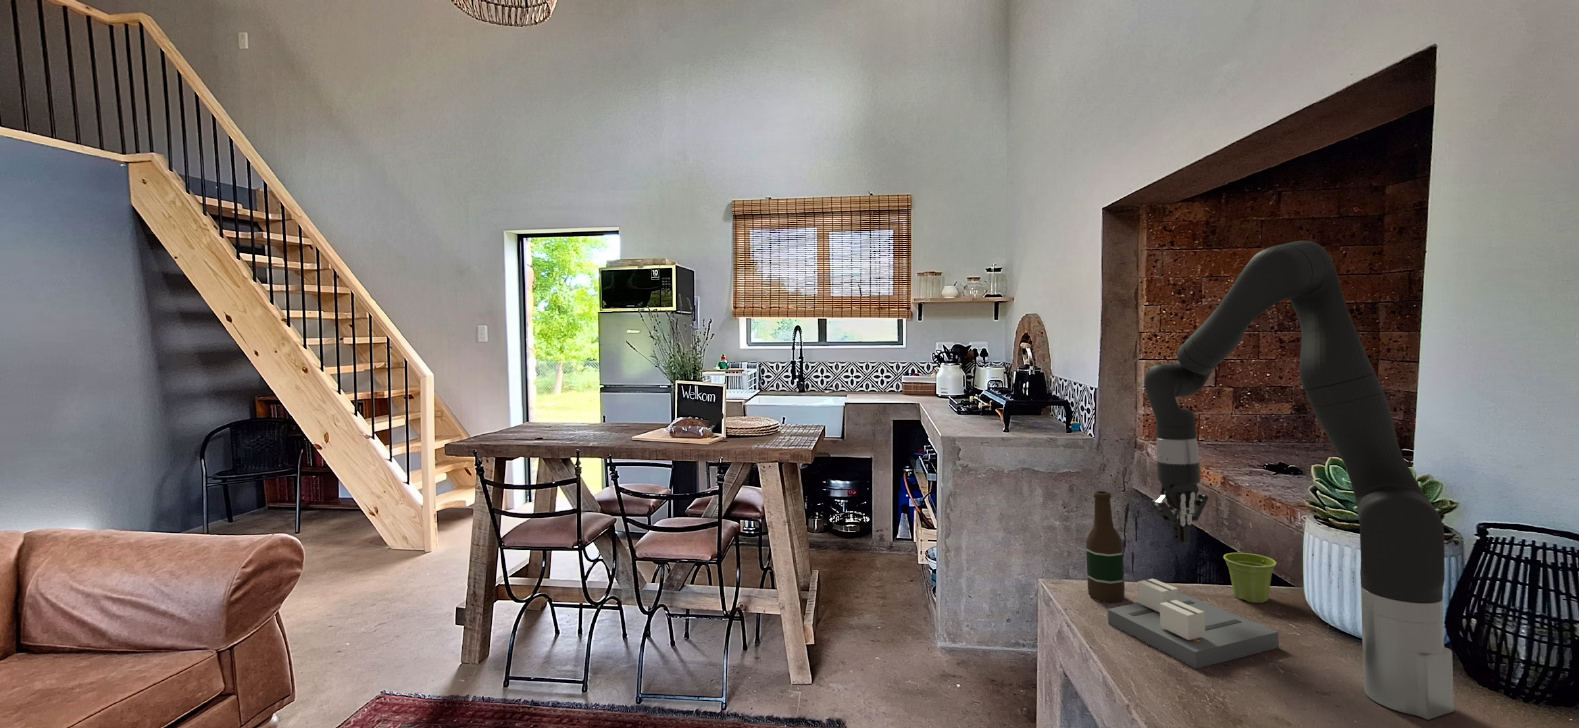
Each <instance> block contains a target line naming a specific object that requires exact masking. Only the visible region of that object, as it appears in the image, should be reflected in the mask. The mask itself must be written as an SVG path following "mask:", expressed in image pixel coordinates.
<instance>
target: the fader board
mask: <svg viewBox="0 0 1579 728" xmlns="http://www.w3.org/2000/svg"><path fill="white" fill-rule="evenodd" d="M1178 601H1180V602H1182V603H1184V604H1187V605H1189V606H1192V607H1194V608H1196V609H1199V610H1201V611H1204V613H1205V636H1204V637H1199V638H1195V639H1191V640H1187V639H1185V638H1183V637H1181V636H1179V635H1177V634H1175V633H1173V632H1171V631H1168V630H1166V629H1164V628H1162V627H1160V612H1158V611H1155V610H1153V609H1151V608H1149V607H1147V606H1144V605H1142V604H1140V603H1139V602H1136V603H1132V604H1125V605H1121V606H1116V607H1112V608H1108V609H1107V623H1108V625H1110V624H1111V626H1112V627H1115V628H1116V627H1117V628H1116V629H1118V630H1120V629H1121V630H1120V631H1122V632H1124V633H1126V634H1128V633H1129V634H1128V635H1130V636H1132V635H1133V636H1135V637H1137V638H1139V639H1141V640H1143V641H1145V642H1147V643H1149V644H1151V645H1153V646H1154V647H1153V646H1152V647H1153V648H1155V647H1156V648H1155V649H1157V648H1158V649H1157V650H1159V649H1160V650H1159V651H1161V652H1162V651H1163V652H1162V653H1164V652H1166V653H1167V654H1166V653H1165V654H1166V655H1168V654H1169V655H1168V656H1170V655H1171V657H1172V656H1173V657H1172V658H1174V657H1175V658H1174V659H1176V658H1178V659H1179V660H1178V659H1177V660H1178V661H1180V660H1181V661H1180V662H1182V663H1184V662H1185V663H1184V664H1185V665H1188V666H1189V665H1190V667H1192V668H1194V669H1195V670H1197V669H1201V668H1204V667H1209V666H1213V665H1216V664H1221V663H1224V662H1228V661H1232V660H1236V659H1239V658H1244V657H1248V656H1251V655H1257V654H1260V653H1265V652H1267V651H1268V652H1269V651H1272V650H1275V649H1276V650H1277V649H1279V647H1280V646H1279V645H1280V644H1279V631H1278V630H1275V629H1272V628H1270V627H1267V626H1264V625H1262V624H1260V623H1258V622H1255V621H1252V620H1249V619H1247V618H1244V617H1242V616H1239V615H1236V614H1235V613H1232V612H1229V611H1227V610H1224V609H1222V608H1219V607H1217V606H1215V605H1212V604H1209V603H1207V602H1204V601H1203V600H1200V599H1197V598H1195V597H1192V596H1189V595H1187V594H1184V593H1178ZM1133 636H1132V637H1133ZM1135 637H1134V638H1135ZM1137 638H1136V639H1137ZM1139 639H1138V640H1139ZM1141 640H1140V641H1141ZM1143 641H1142V642H1143ZM1145 642H1144V643H1145ZM1147 643H1146V644H1147ZM1149 644H1148V645H1149ZM1151 645H1150V646H1151Z"/></svg>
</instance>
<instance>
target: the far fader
mask: <svg viewBox="0 0 1579 728" xmlns="http://www.w3.org/2000/svg"><path fill="white" fill-rule="evenodd" d="M1137 593H1138V595H1137V596H1138V599H1137V600H1138V603H1140V604H1142V605H1144V606H1147V607H1149V608H1151V609H1153V610H1155V611H1158V612H1160V603H1164V602H1166V601H1173V600H1177V601H1178V594H1179V588H1178V587H1175V586H1173V585H1170V584H1167V583H1165V582H1162V581H1160V580H1158V579H1155V578H1149V579H1147V578H1145V579H1143V580H1139V581H1137Z"/></svg>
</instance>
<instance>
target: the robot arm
mask: <svg viewBox="0 0 1579 728" xmlns="http://www.w3.org/2000/svg"><path fill="white" fill-rule="evenodd" d="M1287 300H1289V302H1290V303H1291V305H1292V308H1293V310H1294V313H1295V315H1296V316H1297V319H1298V323H1299V326H1300V332H1301V342H1300V343H1301V346H1300V355H1299V357H1300V358H1299V378H1300V381H1301V385H1302V388H1303V389H1304V393H1305V395H1306V397H1307V400H1308V403H1309V404H1310V406H1311V409H1312V411H1313V413H1314V415H1315V418H1316V419H1317V421H1318V423H1319V424H1320V426H1321V428H1322V429H1323V432H1324V433H1325V436H1327V438H1328V440H1329V441H1330V443H1331V444H1332V445H1333V447H1334V449H1335V451H1337V453H1338V455H1339V456H1340V458H1341V461H1342V463H1343V464H1344V467H1345V470H1346V472H1347V475H1348V479H1349V481H1350V484H1351V488H1352V492H1353V496H1354V499H1355V503H1356V508H1357V509H1356V510H1357V515H1358V516H1357V517H1358V521H1359V539H1360V540H1359V543H1360V544H1359V546H1360V548H1359V549H1360V569H1359V570H1360V571H1359V572H1360V573H1359V575H1360V598H1361V600H1360V601H1361V602H1360V604H1361V606H1360V608H1361V637H1362V667H1363V679H1362V680H1363V690H1364V693H1365V695H1366V696H1367V697H1368V699H1369V698H1370V699H1371V700H1372V701H1374V702H1375V703H1377V704H1379V705H1381V706H1384V707H1386V708H1389V709H1391V710H1394V711H1396V712H1400V713H1404V714H1408V715H1412V716H1413V715H1414V716H1416V717H1417V716H1418V717H1420V718H1423V720H1431V719H1434V718H1437V717H1438V718H1439V717H1440V716H1444V715H1447V714H1450V713H1453V712H1454V711H1455V707H1454V706H1455V705H1454V703H1455V702H1454V675H1453V674H1454V673H1453V672H1454V671H1453V670H1454V669H1453V668H1454V667H1453V651H1452V649H1450V648H1448V647H1446V646H1445V641H1444V640H1445V637H1444V636H1445V635H1444V634H1445V632H1444V592H1443V591H1444V585H1445V579H1446V577H1445V576H1446V575H1445V574H1446V573H1445V571H1446V569H1445V566H1446V565H1445V562H1446V561H1445V560H1446V559H1445V556H1446V555H1445V530H1444V523H1443V520H1442V518H1441V516H1440V514H1439V513H1438V511H1437V510H1436V509H1437V508H1435V506H1434V505H1433V504H1432V502H1431V501H1430V500H1429V499H1428V497H1427V496H1426V494H1425V492H1423V490H1422V488H1421V487H1420V484H1419V483H1418V481H1417V480H1416V479H1415V477H1414V475H1413V473H1412V471H1411V469H1410V468H1409V466H1408V464H1407V462H1406V460H1405V458H1404V455H1403V454H1402V453H1403V452H1402V451H1401V448H1400V445H1399V441H1398V437H1397V433H1396V427H1395V424H1394V419H1393V415H1392V412H1391V408H1390V406H1389V405H1390V404H1389V402H1388V399H1387V397H1386V395H1385V391H1384V389H1383V386H1382V384H1381V383H1380V381H1379V379H1378V375H1377V373H1376V371H1375V369H1374V368H1373V365H1372V364H1371V362H1370V359H1369V357H1368V355H1367V353H1366V351H1365V348H1364V346H1363V345H1364V344H1363V343H1362V341H1361V338H1360V336H1359V334H1358V332H1357V329H1356V327H1355V324H1354V322H1353V320H1352V317H1351V315H1350V313H1349V309H1348V307H1347V304H1346V300H1345V297H1344V294H1343V290H1342V286H1341V284H1340V278H1339V276H1338V272H1337V269H1336V266H1335V263H1334V261H1333V259H1332V257H1331V255H1330V253H1328V251H1327V250H1326V249H1325V247H1323V246H1321V245H1320V244H1318V243H1317V242H1314V241H1311V240H1297V241H1292V242H1287V243H1283V244H1278V245H1273V246H1270V247H1268V248H1265V249H1262V250H1261V251H1259V252H1257V253H1255V255H1254V256H1253V257H1252V258H1250V260H1249V261H1248V262H1247V264H1246V266H1245V267H1244V268H1243V270H1242V271H1241V273H1240V274H1239V276H1238V277H1237V278H1236V280H1235V282H1234V283H1233V284H1232V286H1231V288H1230V289H1229V290H1228V292H1227V293H1226V294H1225V296H1224V298H1223V299H1222V300H1221V302H1220V303H1219V304H1218V306H1217V307H1216V308H1215V309H1214V311H1213V312H1212V313H1211V315H1209V317H1208V318H1207V319H1206V320H1205V321H1204V322H1203V323H1202V324H1201V325H1200V326H1198V328H1196V330H1195V331H1194V332H1193V333H1192V334H1191V336H1189V337H1188V338H1187V339H1186V340H1185V342H1184V343H1182V345H1181V346H1180V347H1179V348H1178V351H1177V354H1176V357H1177V361H1178V362H1174V363H1160V364H1159V363H1158V364H1155V365H1153V366H1151V367H1150V368H1148V370H1147V372H1146V373H1145V376H1144V389H1145V393H1146V396H1147V399H1148V401H1149V404H1150V406H1151V410H1152V412H1153V415H1154V418H1155V428H1156V449H1155V451H1156V467H1157V468H1156V469H1157V470H1156V471H1157V480H1158V481H1159V483H1160V484H1161V487H1160V493H1159V494H1160V495H1159V497H1158V498H1157V499H1153V500H1151V505H1152V507H1153V508H1154V509H1155V510H1156V512H1157V513H1158V514H1159V516H1160V517H1161V518H1162V520H1163V521H1164V522H1166V523H1171V524H1172V527H1173V529H1172V530H1173V539H1174V540H1175V543H1179V544H1182V545H1184V544H1190V542H1191V541H1190V540H1191V525H1192V524H1193V522H1197V521H1198V520H1199V518H1201V517H1200V516H1201V514H1202V513H1203V510H1204V508H1205V506H1206V505H1207V502H1208V500H1209V496H1208V495H1206V494H1202V492H1200V491H1199V490H1200V489H1199V486H1198V484H1199V483H1200V482H1201V468H1200V466H1201V465H1200V453H1199V451H1200V450H1199V445H1198V439H1197V427H1196V416H1195V413H1194V412H1193V411H1192V410H1191V409H1186V408H1183V407H1182V408H1181V407H1180V406H1179V404H1178V402H1177V399H1176V398H1180V397H1189V396H1192V395H1194V394H1196V393H1197V392H1199V391H1200V390H1201V389H1203V387H1204V386H1205V385H1206V383H1207V381H1208V379H1209V378H1210V376H1211V374H1212V372H1213V370H1214V368H1216V367H1217V366H1218V365H1220V363H1222V362H1223V360H1225V359H1226V358H1227V357H1228V356H1229V355H1230V354H1231V353H1232V352H1233V351H1234V350H1235V349H1236V348H1237V347H1238V345H1239V344H1240V342H1241V341H1242V339H1243V336H1244V335H1245V332H1246V330H1247V329H1248V327H1249V326H1250V324H1252V323H1253V321H1254V320H1255V319H1256V318H1258V317H1259V316H1260V315H1261V314H1263V313H1264V312H1266V311H1268V310H1269V309H1270V308H1272V307H1273V306H1275V305H1276V304H1278V303H1279V302H1281V301H1287Z"/></svg>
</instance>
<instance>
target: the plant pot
mask: <svg viewBox="0 0 1579 728" xmlns="http://www.w3.org/2000/svg"><path fill="white" fill-rule="evenodd" d="M1223 559H1224V561H1225V563H1226V566H1227V567H1228V571H1229V575H1230V581H1231V586H1232V590H1233V596H1234V597H1235V598H1236V599H1239V600H1245V601H1246V602H1248V603H1252V604H1253V603H1254V604H1255V603H1258V604H1263V603H1265V602H1269V599H1270V598H1269V596H1270V589H1271V583H1272V582H1271V581H1272V574H1273V572H1274V568H1275V567H1276V566H1277V562H1276V560H1274V559H1273V558H1270V557H1268V556H1264V555H1262V554H1261V555H1260V554H1255V553H1247V552H1230V553H1225V554H1224V555H1223Z"/></svg>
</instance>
